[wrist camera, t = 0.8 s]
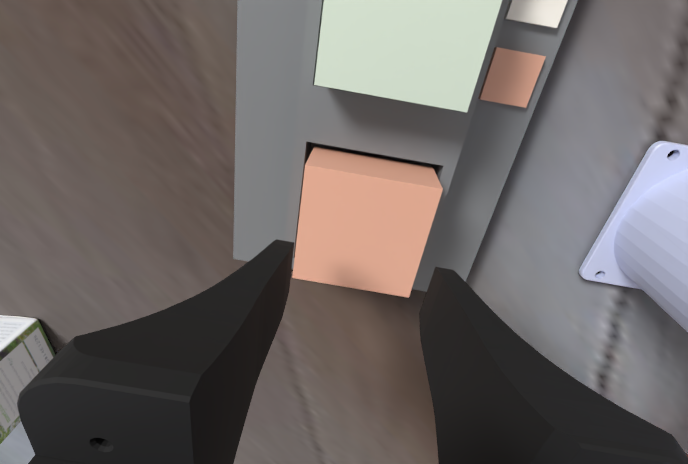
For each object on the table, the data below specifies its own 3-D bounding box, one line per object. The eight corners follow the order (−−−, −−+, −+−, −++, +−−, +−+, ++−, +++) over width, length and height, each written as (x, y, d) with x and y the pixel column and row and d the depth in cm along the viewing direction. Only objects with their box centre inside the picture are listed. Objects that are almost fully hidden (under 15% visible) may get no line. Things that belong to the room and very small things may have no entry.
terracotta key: (433, 167, 16) (443, 189, 14) (404, 265, 18) (408, 297, 16) (314, 146, 16) (305, 164, 14) (301, 248, 18) (292, 277, 16)
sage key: (500, -65, 12) (529, -86, 10) (452, 100, 14) (467, 112, 12) (344, -94, 12) (337, -123, 10) (322, 76, 14) (313, 84, 12)
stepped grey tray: (751, -501, 10) (928, -750, 7) (454, 281, 22) (467, 321, 19) (266, -609, 9) (216, -917, 6) (241, 245, 22) (220, 279, 19)
